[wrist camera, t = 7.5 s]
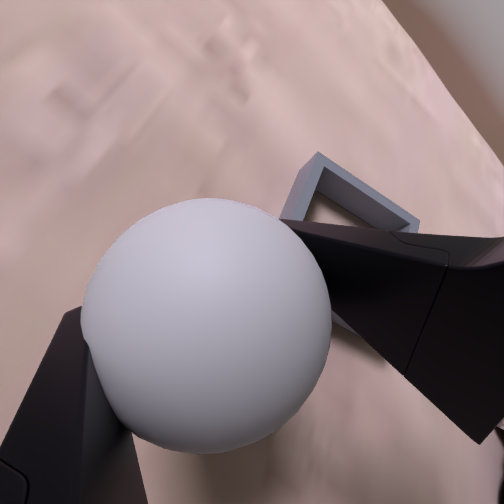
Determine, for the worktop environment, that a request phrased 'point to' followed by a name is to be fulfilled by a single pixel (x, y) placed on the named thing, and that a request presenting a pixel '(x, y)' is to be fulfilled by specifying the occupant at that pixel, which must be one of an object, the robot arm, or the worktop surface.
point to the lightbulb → (207, 325)
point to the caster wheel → (501, 424)
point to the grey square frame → (345, 201)
